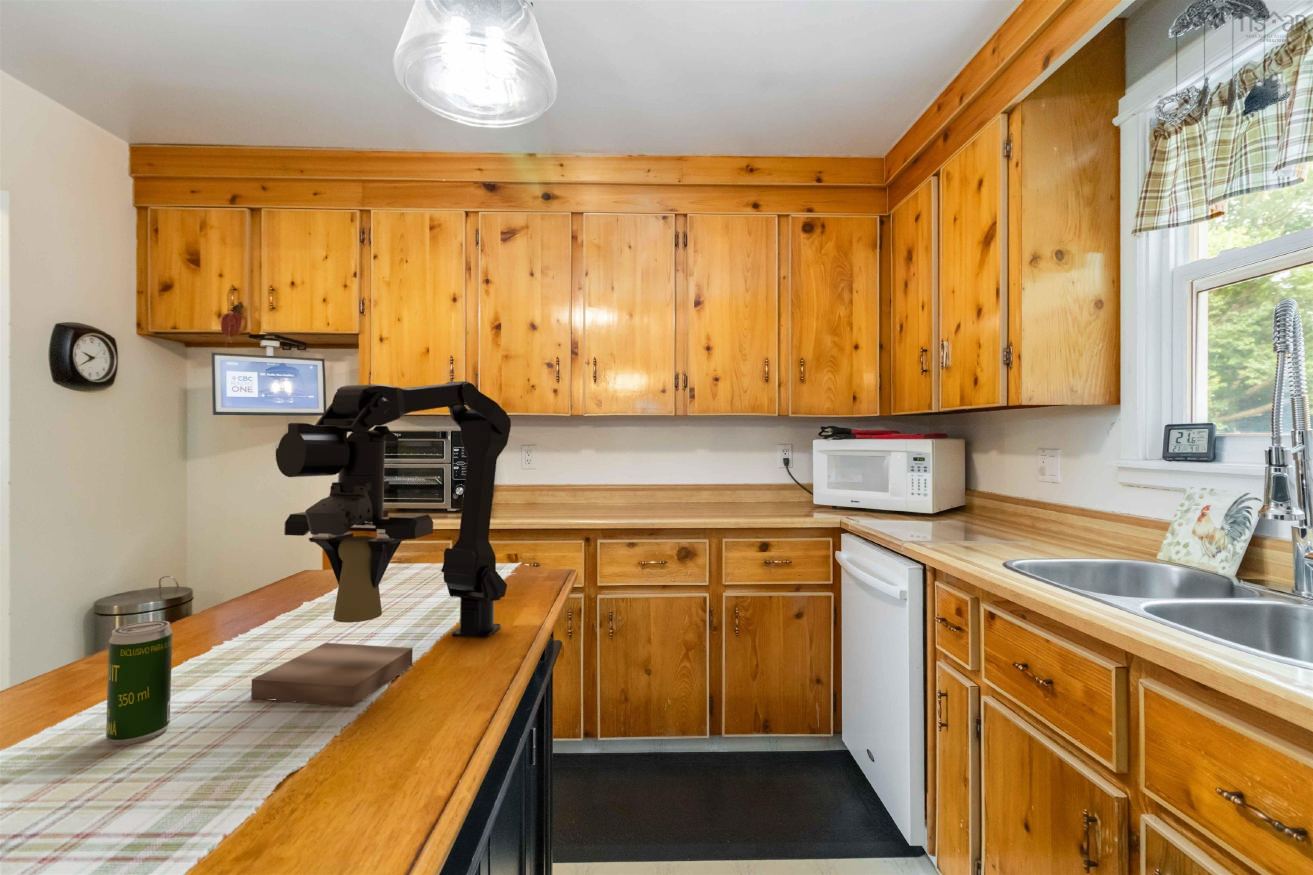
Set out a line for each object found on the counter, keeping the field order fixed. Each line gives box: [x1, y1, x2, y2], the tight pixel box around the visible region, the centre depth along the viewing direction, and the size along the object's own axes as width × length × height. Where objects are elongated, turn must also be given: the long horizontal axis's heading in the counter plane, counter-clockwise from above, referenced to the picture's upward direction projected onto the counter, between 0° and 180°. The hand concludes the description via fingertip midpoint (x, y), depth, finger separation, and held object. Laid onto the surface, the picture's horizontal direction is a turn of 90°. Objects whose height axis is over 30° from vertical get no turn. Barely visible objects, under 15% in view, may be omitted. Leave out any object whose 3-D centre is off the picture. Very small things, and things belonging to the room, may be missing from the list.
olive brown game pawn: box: [332, 535, 383, 624], centre depth 81 cm, size 6×6×11 cm
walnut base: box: [250, 642, 414, 707], centre depth 81 cm, size 14×14×2 cm
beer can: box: [105, 620, 173, 746], centre depth 65 cm, size 5×5×12 cm
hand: (358, 586), depth 81 cm, fingers closed on olive brown game pawn, 4 cm apart
